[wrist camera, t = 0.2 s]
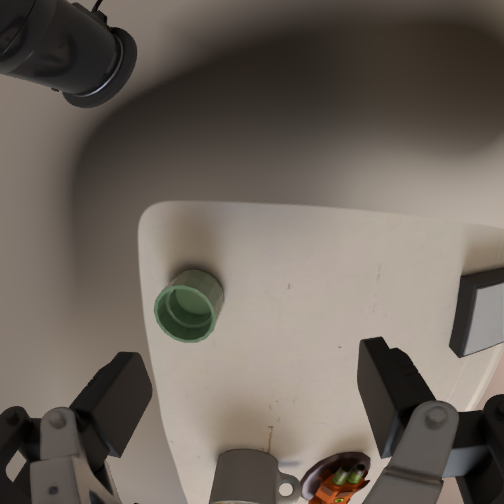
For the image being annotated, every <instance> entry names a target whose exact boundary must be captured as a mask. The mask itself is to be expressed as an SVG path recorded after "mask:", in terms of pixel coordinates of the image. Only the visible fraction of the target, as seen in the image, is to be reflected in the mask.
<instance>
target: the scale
mask: <svg viewBox="0 0 504 504" xmlns="http://www.w3.org/2000/svg"><path fill="white" fill-rule="evenodd" d="M503 342H504V268H501V269H496V270H492V271H487V272H482V273H477V274H472V275H467V276H462V277H461V279H460V287H459V295H458V302H457V308H456V314H455V320H454V325H453V331H452V335H451V340H450V345H449V347H450V348H451V350H452V351H453V352H454V353H455V354H456V355H457V356H458V358H461V357H465V356H468V355H470V354H473V353H476V352H479V351H482V350H485V349H487V348H490V347H493V346H495V345H498V344H500V343H503Z"/></svg>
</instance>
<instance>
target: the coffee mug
mask: <svg viewBox="0 0 504 504" xmlns="http://www.w3.org/2000/svg"><path fill="white" fill-rule="evenodd" d="M283 483H289V484H291V485H292V487H293V492H292V494H291V495H289V496H282V495H281V494H280V493H279V487H280V485H281V484H283ZM300 495H301V485H300V482H299V480H298V479H297V478H296V477H294V476H292V475H289V474H284V473H282V472H280V471H279V469H278V463H277V461H276V459H275V458H274V457H272V456H271V455H269V454H267V453H264V452H261V451H257V450H249V449H238V450H231V451H228V452H225V453H223V454H222V455H221V456H220V457H219V458H218V461H217V466H216V471H215V476H214V481H213V486H212V490H211V495H210V500H209V504H293V503H295V502H296V501H298V499H299V497H300Z"/></svg>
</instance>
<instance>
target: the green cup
mask: <svg viewBox="0 0 504 504" xmlns="http://www.w3.org/2000/svg"><path fill="white" fill-rule="evenodd" d="M223 302H224V297H223V291H222V288H221V287H220V285H219V283H218V282H217V280H216V279H214V278H213V277H212V276H211V275H209V274H208V273H206V272H202V271H199V270H186V271H184V272H182V273H180V274H178V275H177V276H176V277H175V278H174V279H173V280H172V281H171V282H170V283H169V284H168V285H167V286H166V287H165V288H164V289H163V290H162V291H161V293H160V294H159V296H158V297H157V299H156V300H155V307H154V313H155V317H156V321H157V323H158V324H159V326H160V327H161V329H162V330H163V331H164V332H165V333H166V334H167V335H169V336H170V337H172V338H173V339H175V340H178V341H181V342H184V343H196V342H199V341H201V340H204V339H206V338H207V337H208V336H209V335H210V334H211V333H212V331H213V330H214V328H215V325H216V323H217V320H218V317H219V315H220V312H221V310H222V306H223Z"/></svg>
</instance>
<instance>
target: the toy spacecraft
mask: <svg viewBox="0 0 504 504" xmlns="http://www.w3.org/2000/svg"><path fill="white" fill-rule="evenodd" d="M369 469H370V458H369V457H368V456H366V455H365V454H363V453H354V452H348V453H343V454H338V455H334V456H331V457H329V458H327V459H325V460H322V461H320V462H318V463H317V464H316V465H315V466H313V467H312V468H311V469H310V470H309V471H307V473H306V474H305V476H304V477H303V479H302V480H301V482H300V485H301V497H302V498H305V499H307V500H309V503H308V504H347V503H348V502H349V501H350V497H351V496H352V495H353V494H354V493H356V492H357V491H359V490H361V489H362V488H364V487H365V486H366V485H367V484H368V483H369V482H370V480H366V481H365V479H364V478H365V477H366V476H367V474H368V471H369Z"/></svg>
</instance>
